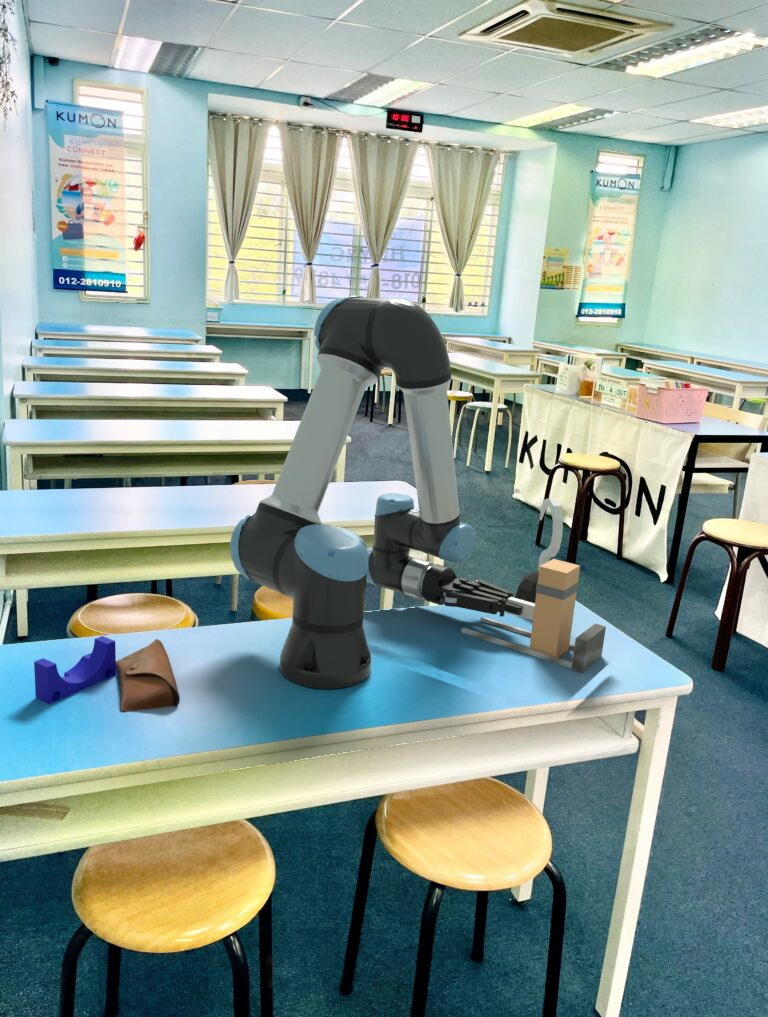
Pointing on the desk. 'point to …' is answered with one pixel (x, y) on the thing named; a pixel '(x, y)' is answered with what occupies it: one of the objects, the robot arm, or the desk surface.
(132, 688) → the sunglasses case
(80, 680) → the purple cradle bracket
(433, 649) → the desk surface
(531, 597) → the hook
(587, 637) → the track
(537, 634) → the tan box with band
